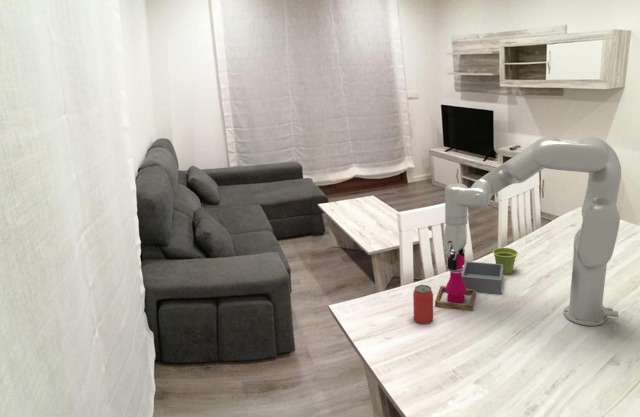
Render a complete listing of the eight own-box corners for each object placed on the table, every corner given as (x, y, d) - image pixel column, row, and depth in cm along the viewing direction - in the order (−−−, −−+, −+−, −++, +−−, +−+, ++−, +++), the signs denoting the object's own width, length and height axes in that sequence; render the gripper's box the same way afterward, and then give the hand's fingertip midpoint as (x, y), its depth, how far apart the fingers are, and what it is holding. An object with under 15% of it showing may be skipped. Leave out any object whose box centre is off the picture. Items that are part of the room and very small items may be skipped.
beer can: (422, 326, 163) (421, 294, 160) (409, 318, 169) (409, 287, 165) (437, 320, 166) (437, 289, 163) (424, 312, 172) (424, 282, 168)
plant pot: (520, 275, 194) (521, 255, 191) (496, 277, 194) (497, 257, 191) (511, 266, 203) (512, 246, 200) (489, 267, 203) (489, 248, 200)
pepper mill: (467, 297, 180) (468, 247, 174) (463, 306, 174) (464, 255, 168) (448, 294, 183) (448, 245, 177) (443, 303, 177) (443, 253, 171)
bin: (502, 277, 193) (503, 264, 191) (501, 294, 180) (501, 280, 178) (465, 274, 199) (465, 261, 197) (460, 290, 186) (460, 276, 184)
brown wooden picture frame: (475, 294, 182) (475, 289, 181) (472, 311, 170) (472, 306, 170) (440, 290, 187) (440, 285, 186) (434, 306, 175) (434, 301, 175)
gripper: (455, 210, 178) (455, 255, 183) (435, 224, 165) (435, 272, 170) (475, 213, 173) (475, 259, 179) (456, 228, 160) (456, 277, 166)
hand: (455, 265), depth 174 cm, fingers closed on pepper mill, 6 cm apart
